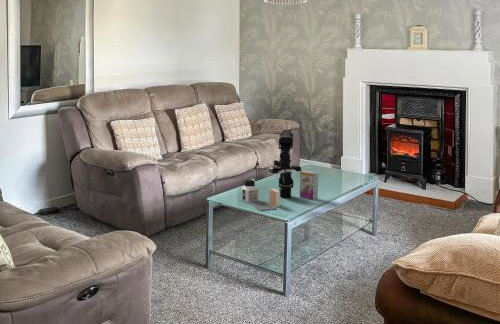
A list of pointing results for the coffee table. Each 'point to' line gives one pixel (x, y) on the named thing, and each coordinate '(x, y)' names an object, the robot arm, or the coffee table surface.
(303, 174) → the candy bar box
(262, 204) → the mat
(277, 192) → the cream rectangular block
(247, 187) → the container
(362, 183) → the coffee table surface
